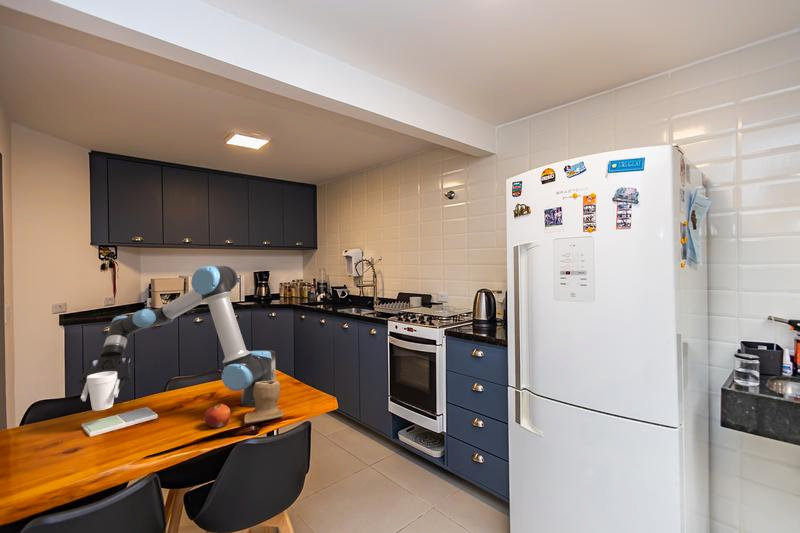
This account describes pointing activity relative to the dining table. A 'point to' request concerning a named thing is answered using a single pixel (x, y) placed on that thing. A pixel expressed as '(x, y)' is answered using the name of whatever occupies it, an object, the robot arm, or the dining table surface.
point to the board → (118, 421)
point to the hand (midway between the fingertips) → (99, 397)
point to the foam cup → (102, 389)
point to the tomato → (217, 415)
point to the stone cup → (265, 402)
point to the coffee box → (273, 364)
